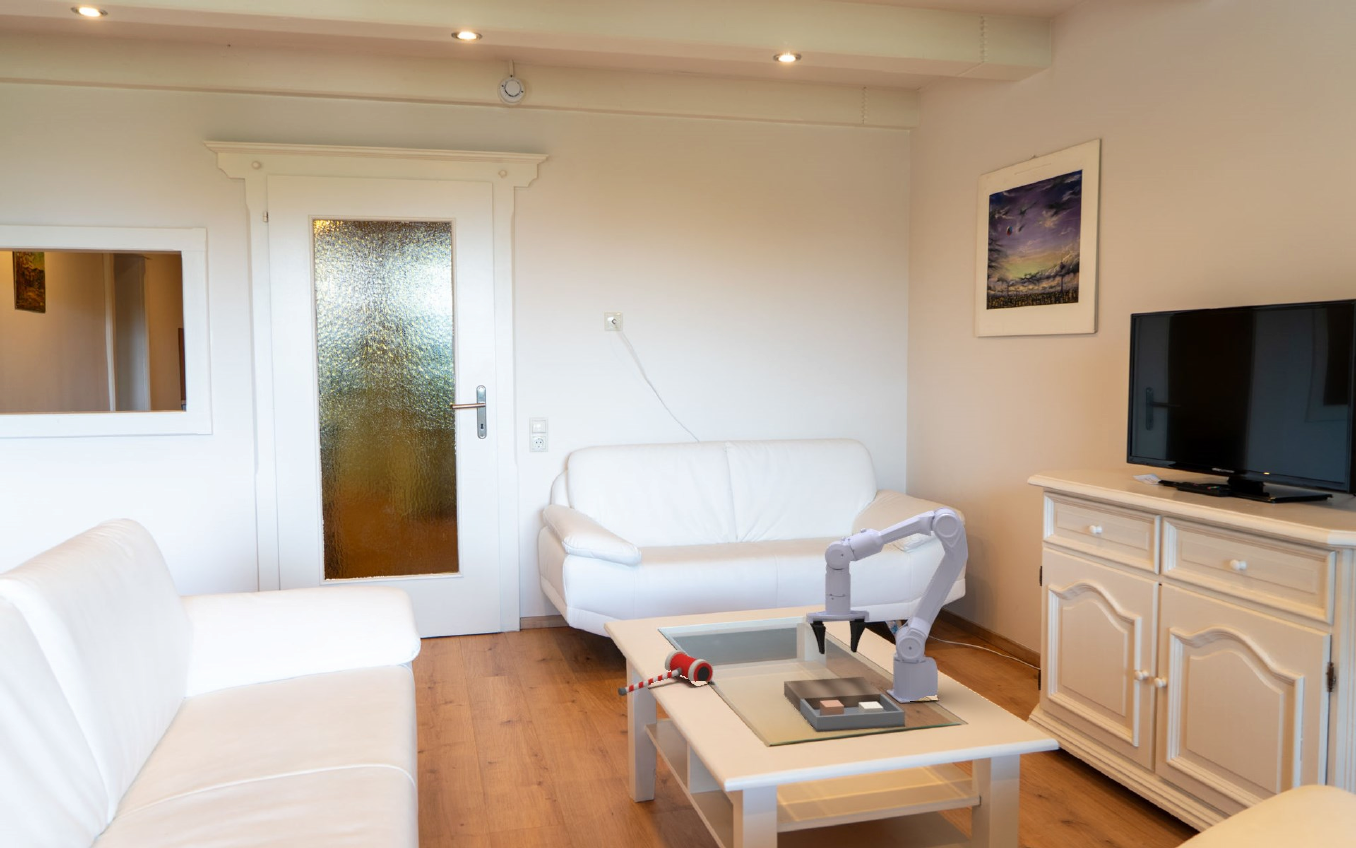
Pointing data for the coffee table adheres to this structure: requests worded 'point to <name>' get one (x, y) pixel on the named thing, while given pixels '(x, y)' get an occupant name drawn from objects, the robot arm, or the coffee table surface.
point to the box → (855, 717)
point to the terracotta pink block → (831, 708)
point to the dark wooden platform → (831, 691)
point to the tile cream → (870, 707)
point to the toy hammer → (677, 671)
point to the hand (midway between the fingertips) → (837, 652)
